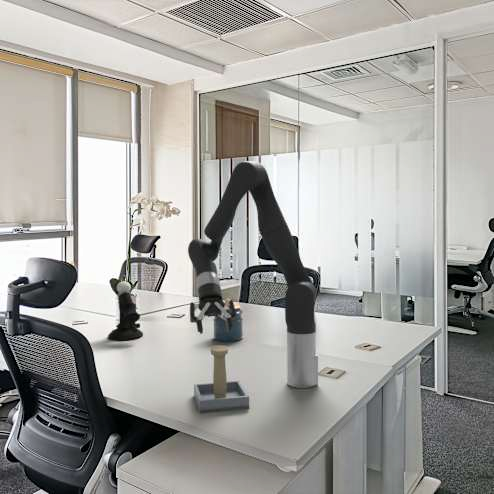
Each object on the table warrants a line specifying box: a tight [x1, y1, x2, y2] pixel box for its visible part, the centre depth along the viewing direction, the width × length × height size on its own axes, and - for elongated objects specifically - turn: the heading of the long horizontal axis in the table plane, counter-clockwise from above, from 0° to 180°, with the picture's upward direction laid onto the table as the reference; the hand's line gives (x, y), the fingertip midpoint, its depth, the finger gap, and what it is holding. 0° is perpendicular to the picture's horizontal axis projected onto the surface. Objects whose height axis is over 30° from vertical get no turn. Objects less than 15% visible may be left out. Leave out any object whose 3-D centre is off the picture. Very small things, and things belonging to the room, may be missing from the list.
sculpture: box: [107, 280, 144, 342], centre depth 224 cm, size 15×24×25 cm, turn 28°
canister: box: [213, 298, 244, 343], centre depth 223 cm, size 13×13×18 cm
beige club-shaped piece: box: [210, 344, 229, 399], centre depth 149 cm, size 5×6×15 cm
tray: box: [193, 380, 250, 414], centre depth 149 cm, size 14×14×4 cm
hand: (215, 331), depth 156 cm, fingers open, 8 cm apart
